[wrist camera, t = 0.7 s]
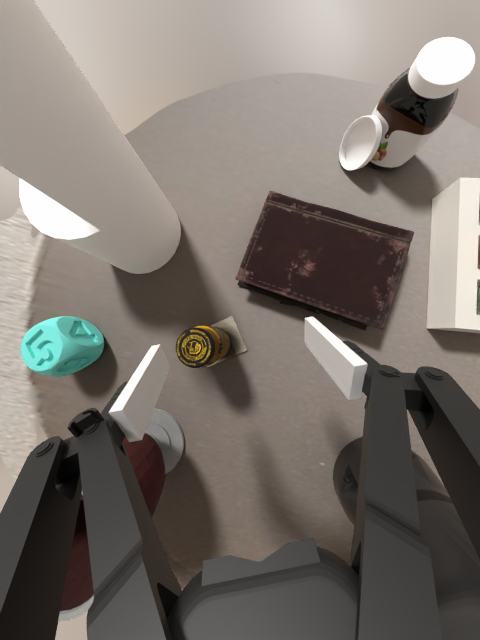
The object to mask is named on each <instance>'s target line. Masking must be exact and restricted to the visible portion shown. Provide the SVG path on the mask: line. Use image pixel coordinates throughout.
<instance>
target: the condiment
mask: <svg viewBox="0 0 480 640" xmlns="http://www.w3.org/2000/svg"><path fill="white" fill-rule="evenodd" d="M225 329H226V330H225ZM227 330H228V331H227ZM230 350H231V351H230ZM245 351H247V348H246V346H245V344H244V342H243V339H242V337H241V335H240V332H239V330H238V328H237V326H236V323H235V321H234V319H233V317H232V316H230V317H228V318H226V319H223V320H221V321H219V322H217V323H215V324H213V325H211V326H206V325H204V326H196V327H194V328H190V329H188V330H186V331H184V332H183V333H182V334H181V335H180V337H179V338H178V340H177V343H176V352H177V356H178V358H179V360H180V361H181V362H182V363H183V364H185V365H186V366H188V367H192V368H199V367H205V366H207V368H208V367H211V366H213V365H215V364H217V363H220V362H222V361H224V360H226V359H229V358H231V357H233V356H236V355H238V354H240V353H242V352H245Z"/></svg>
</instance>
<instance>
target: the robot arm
mask: <svg viewBox="0 0 480 640" xmlns="http://www.w3.org/2000/svg"><path fill="white" fill-rule="evenodd" d="M305 345H306V346H307V347H308V348H309V350H310V351H311V352H312V354H313V355H314V356H315V357H316V359H317V360H318V361H319V363H320V364H321V365H322V366H323V368H324V369H325V370H326V372H327V373H328V374H329V375H330V377H331V378H332V379H333V381H334V382H335V383H336V384H337V386H338V387H339V388H340V390H341V391H342V392H343V393H344V395H345V396H346V397H347V399H348V400H354V399H359V398H361V395H362V391H363V393H364V394H365V395H366V396H367V399H366V403H365V408H364V409H365V419H364V430H363V437H361V438H358V439H356V440H354V441H352V442H351V443H349V444H348V445H347V446H346V447H345V448H344V449H343V450H342V451H341V453H340V454H339V456H338V458H337V460H336V463H335V466H334V473H333V481H334V487H335V491H336V494H337V496H338V499H339V501H340V503H341V505H342V507H343V509H344V511H345V512H346V514H347V516H348V517H349V519H350V520H351V521H352V523H353V524H354V525H355V528H354V536H353V542H352V549H351V559H350V562H348V563H346V562H345V561H344V560H342V559H341V558H340V557H338V556H337V555H335V554H333V553H332V552H330V551H328V550H325V549H323V548H320V547H316V545H315V542H314V539H309V540H304V541H299V542H294V543H289V544H286V545H284V546H283V547H281V548H280V549H279V550H277V551H276V552H274V553H273V554H271V555H270V556H268V557H267V558H266V559H264V560H263V561H260V562H256V561H252V560H248V559H244V558H239V557H235V556H231V555H229V556H224V557H219V558H214V559H209V560H204V561H203V568H202V571H201V572H199V573H198V574H197V575H196V576H195V577H194V578H193V579H192V580H191V581H190V582H189V583H188V584H187V586H186V587H185V588H184V590H183V591H182V590H181V587H180V585H179V583H178V581H177V579H176V577H175V575H174V573H173V572H172V570H171V568H170V566H169V563H168V561H167V558H166V555H165V553H164V550H163V547H162V545H161V542H160V539H159V537H158V534H157V531H156V529H155V526H154V523H153V521H152V518H151V515H150V513H149V510H148V507H147V505H146V502H145V499H144V497H143V494H142V491H141V489H140V486H139V483H138V481H137V478H136V475H135V473H134V470H133V467H132V465H131V462H130V459H129V457H128V454H127V451H126V449H125V446H124V445H123V443H122V442H123V440H124V438H125V437H126V438H127V439H128V441H129V442H133V441H139V440H142V438H143V436H144V433H145V431H146V428H147V426H148V423H149V421H150V418H151V416H152V413H153V411H154V408H155V406H156V403H157V401H158V398H159V396H160V393H161V391H162V388H163V386H164V383H165V381H166V378H167V376H168V373H169V371H170V366H169V364H168V361H167V359H166V356H165V354H164V352H163V349H162V347H161V345H160V344H159V345H154V346H151V348H150V349H149V351H148V353H147V354H146V356H145V357H144V359H143V360H142V362H141V363H140V365H139V366H138V368H137V369H136V371H135V372H134V374H133V375H132V377H131V379H130V380H129V382H125V383H124V384H122V385H121V386H120V387H119V388H118V389H117V391H116V392H115V394H114V395H113V397H112V398H111V400H110V401H109V402H108V404H107V405H106V407H105V408H104V410H103V411H102V413H101V414H100V413H99V411H98V410H97V409H96V408H91V409H87V410H85V411H83V412H81V413H80V414H78V415H77V416H76V417H75V418H74V419H73V420H72V421H71V422H70V423H69V425H68V429H69V431H70V432H71V433H72V434H73V435H74V436H73V437H71V438H68V439H66V440H64V441H63V440H62V439H61V438H60V437H59V436H55V437H52V438H49V439H47V440H46V441H44V442H42V443H41V444H40V445H38V446H37V447H36V448H35V449H34V450H33V451H32V452H31V453H30V455H29V456H28V457H27V459H26V462H25V464H24V466H23V468H22V470H21V472H20V474H19V476H18V478H17V480H16V482H15V485H14V486H13V488H12V491H11V493H10V495H9V497H8V499H7V501H6V503H5V505H4V507H3V509H2V511H1V513H0V640H55V635H56V630H57V624H58V619H59V614H60V608H61V603H62V597H63V592H64V586H65V581H66V576H67V570H68V565H69V559H70V554H71V548H72V543H73V538H74V532H75V527H76V521H77V516H78V510H79V505H80V500H81V494H82V492H83V501H84V510H85V519H86V528H87V536H88V545H89V554H90V563H91V572H92V581H93V590H94V599H93V603H92V604H91V606H90V608H89V609H88V614H87V638H88V640H480V409H479V408H478V407H477V406H476V405H475V404H474V402H473V401H472V400H471V399H470V398H469V397H468V395H467V394H466V393H465V392H464V391H463V390H462V388H461V387H460V386H459V385H458V384H457V383H456V381H455V380H454V379H453V378H452V377H451V376H450V375H449V374H448V373H446V372H444V371H442V370H440V369H437V368H433V367H420V368H418V370H417V372H416V373H401V372H400V371H398V370H397V369H395V368H393V367H391V366H387V365H380V364H379V363H378V362H377V361H375V360H374V359H373V358H372V357H370V356H369V355H368V354H367V353H365V352H364V351H363V350H362V349H360V348H359V347H358V346H357V345H355V344H354V343H352V342H349V341H341V340H340V339H338V338H337V337H336V336H335V335H334V334H333V333H332V332H330V331H329V330H328V329H327V328H326V327H325V326H323V325H322V324H321V323H320V322H319V321H318V320H317V319H315V318H314V317H307V318H305ZM407 409H408V410H409V413H410V415H411V417H412V419H413V421H414V423H415V425H416V427H417V429H418V431H419V433H420V436H421V438H422V440H423V442H424V444H425V446H426V448H427V450H428V452H429V454H430V456H431V459H432V461H433V463H434V465H435V467H436V469H437V471H438V473H439V475H440V477H441V479H442V482H443V484H444V485H443V484H442V483H441V481H440V480H439V479H438V477H437V476H436V475H435V473H434V472H433V471H432V469H431V468H430V467H429V466H428V464H427V463H426V462H425V461H424V460H423V459H422V458H421V457H420V456H419V455H417V454H416V453H415V452H413V451H412V450H411V444H410V435H409V427H408V418H407ZM444 486H445V487H444Z"/></svg>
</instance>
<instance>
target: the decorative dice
mask: <svg viewBox="0 0 480 640" xmlns="http://www.w3.org/2000/svg"><path fill="white" fill-rule="evenodd" d="M103 349H104V338H103V335H102V333H101V332H100V331H99V329H98V328H97V327H95V326H94V325H93V324H91V323H89V322H88V321H85V320H83V319H80V318H77V317H71V316H62V317H56V318H52V319H48V320H45V321H43V322H41V323H39V324H37V325H35V326H34V327H32V328H31V329H30V330H29V331H28V332H27V333H26V335H25V336H24V338H23V340H22V344H21V355H22V358H23V361H24V362H25V364H26V365H27V366H28V367H29V368H31V369H32V370H34V371H35V372H37V373H40V374H43V375H47V376H56V377H60V376H65V375H69V374H72V373H75V372H77V371H79V370H81V369H83V368H85V367H87V366H89V365H90V364H92V363H93V362H94V361H96V360H97V359H98V358H99V357H100V356H101V354H102V352H103Z"/></svg>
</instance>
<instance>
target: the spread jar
mask: <svg viewBox="0 0 480 640" xmlns="http://www.w3.org/2000/svg"><path fill="white" fill-rule="evenodd" d="M474 64H475V54H474V51H473V49H472V48H471V46H470V45H469V44H467V43H466V42H465V41H463V40H461V39H458V38H454V37H443V38H439V39H435V40H433V41H431V42H430V43H428V44H427V45H425V46H424V47H423V48H422V50H421V51H420V53H419V54H418V56H417V58H416V59H415V61H414V63H413V64H412V66H411V68H409V69H407V70H406V71H405V72H403V73H402V74H401V75H400V76H399V77H398V78H397V79H396V80H394V82H392V84H390V86H389V87H388V88H387V90H386V91H385V93H384V94H383V96H382V97H381V99H380V101H379V102H378V104H377V106H376V107H375V109H374V111H373V113H372V115H371V116H362V117H360V118H358V119H357V120H355V121H354V122H353V123H352V124H351V125H350V126H349V128H348V129H347V131H346V132H345V134H344V136H343V139H342V142H341V145H340V150H339V159H340V163H341V165H342V167H343V168H344V169H346V170H349V171H351V170H356V169H360V168H362V167H363V166H365V165H366V164H368V165H369V166H371V167H373V168H375V169H380V170H388V169H393V168H396V167H399V166H401V165H402V164H404V163H405V162H407V161H408V160H409V159H410V158H411V157H412V156H413V155H415V154H416V153H417V152H418V150H419V149H420V148H421V147H422V146H423V145H424V144H425V143H426V142H427V141H428V139H429V138H430V137H431V136H432V135H433V134H434V133H435V131H436V130H437V129H438V128H439V127H440V125H441V124H442V123H443V122H444V120H445V119H446V117H447V116H448V114H449V113H450V111H451V109H452V108H453V105H454V103H455V100H456V98H457V94H458V87H459V86H460V85H461V83H462V82H463V81H464V80H465V79H466V78H467V76H468V75H469V74H470V72H471V71H472V69H473V67H474Z"/></svg>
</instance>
